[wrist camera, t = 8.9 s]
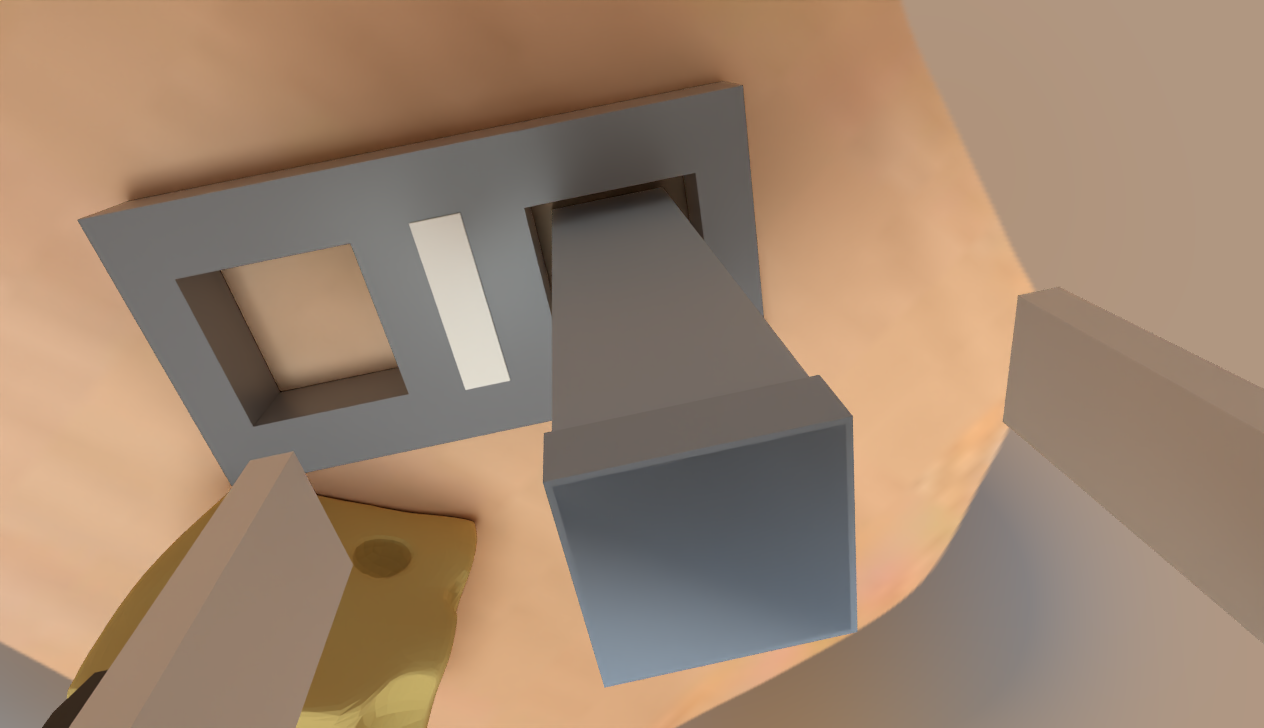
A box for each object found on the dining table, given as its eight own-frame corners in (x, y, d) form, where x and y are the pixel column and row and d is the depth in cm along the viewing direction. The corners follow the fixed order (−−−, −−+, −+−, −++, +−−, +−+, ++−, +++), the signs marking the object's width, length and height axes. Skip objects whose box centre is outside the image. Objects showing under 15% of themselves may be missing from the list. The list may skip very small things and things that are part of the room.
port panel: (127, 201, 21) (74, 220, 19) (723, 81, 22) (743, 85, 19) (260, 449, 26) (231, 489, 23) (750, 346, 26) (769, 375, 24)
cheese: (481, 514, 28) (449, 729, 19) (431, 679, 33) (386, 918, 24) (224, 465, 26) (52, 684, 17) (205, 650, 30) (59, 905, 21)
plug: (548, 207, 23) (543, 482, 8) (665, 183, 23) (852, 415, 9) (573, 315, 25) (604, 687, 10) (681, 292, 25) (857, 631, 10)
